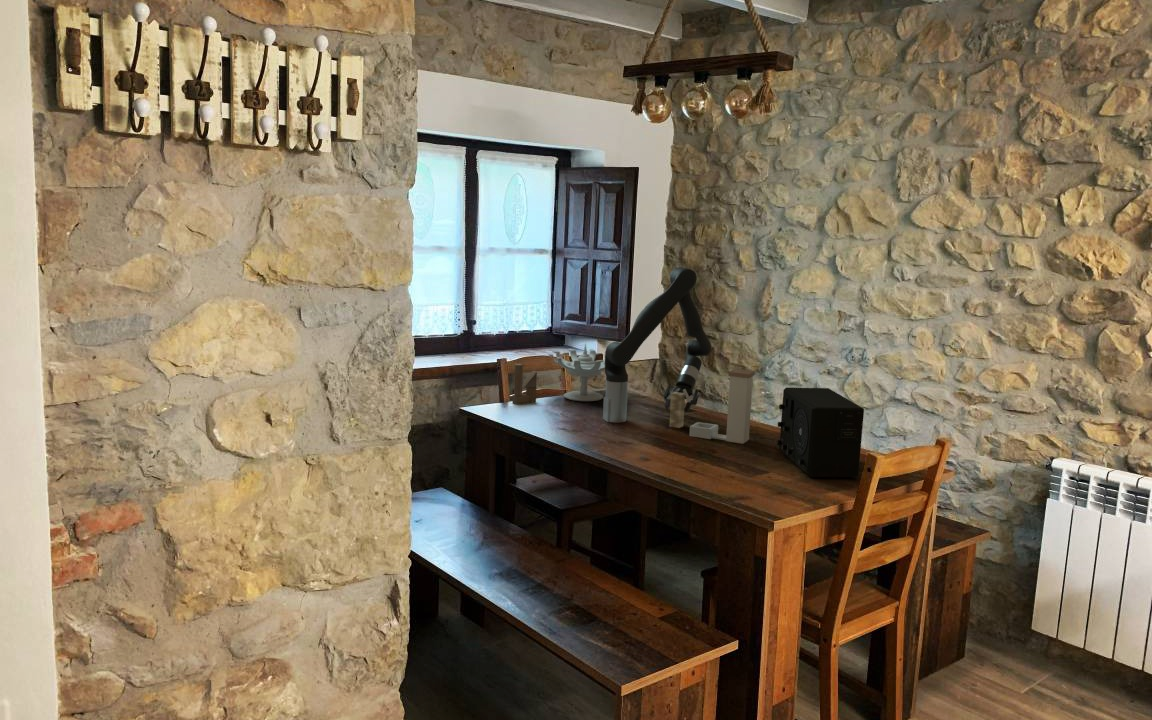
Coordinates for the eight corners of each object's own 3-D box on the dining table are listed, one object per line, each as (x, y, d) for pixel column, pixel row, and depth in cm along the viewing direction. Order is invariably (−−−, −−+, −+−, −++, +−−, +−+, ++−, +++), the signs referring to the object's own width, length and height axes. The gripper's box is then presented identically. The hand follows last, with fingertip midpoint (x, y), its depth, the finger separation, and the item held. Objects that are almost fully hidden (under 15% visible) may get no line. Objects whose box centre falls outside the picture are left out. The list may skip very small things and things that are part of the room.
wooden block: (536, 402, 408) (537, 363, 405) (516, 404, 401) (517, 365, 398) (531, 400, 411) (532, 362, 408) (512, 403, 404) (512, 364, 401)
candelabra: (629, 405, 407) (631, 346, 402) (554, 406, 399) (555, 346, 395) (610, 390, 440) (612, 336, 435) (540, 391, 432) (542, 336, 428)
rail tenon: (669, 426, 369) (671, 393, 367) (673, 424, 373) (675, 391, 371) (679, 428, 367) (681, 394, 365) (683, 426, 371) (685, 393, 369)
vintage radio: (771, 450, 337) (775, 385, 333) (821, 451, 339) (826, 386, 334) (802, 480, 300) (808, 407, 296) (859, 480, 302) (865, 408, 298)
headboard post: (689, 435, 355) (693, 367, 350) (697, 431, 362) (701, 364, 358) (743, 444, 344) (748, 374, 340) (750, 439, 352) (755, 371, 347)
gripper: (669, 371, 376) (658, 402, 368) (701, 375, 370) (690, 407, 362) (673, 381, 382) (662, 412, 374) (705, 385, 375) (694, 417, 367)
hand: (676, 409), depth 368 cm, fingers open, 8 cm apart
